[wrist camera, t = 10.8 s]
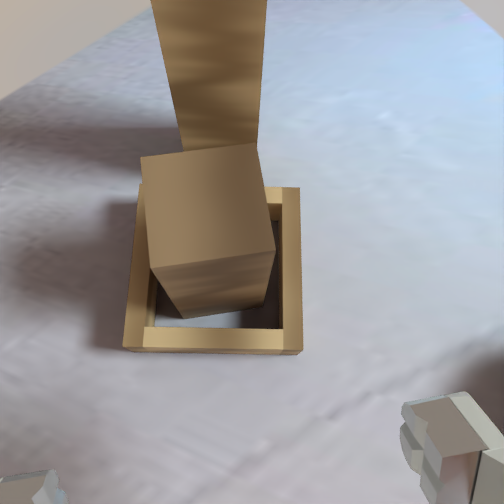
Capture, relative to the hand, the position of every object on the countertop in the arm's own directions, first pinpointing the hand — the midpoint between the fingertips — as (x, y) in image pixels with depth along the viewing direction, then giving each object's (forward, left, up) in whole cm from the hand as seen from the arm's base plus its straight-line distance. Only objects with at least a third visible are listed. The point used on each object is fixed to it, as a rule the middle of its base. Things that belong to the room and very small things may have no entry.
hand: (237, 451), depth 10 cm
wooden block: (-1, +8, -14) cm, 16 cm away
